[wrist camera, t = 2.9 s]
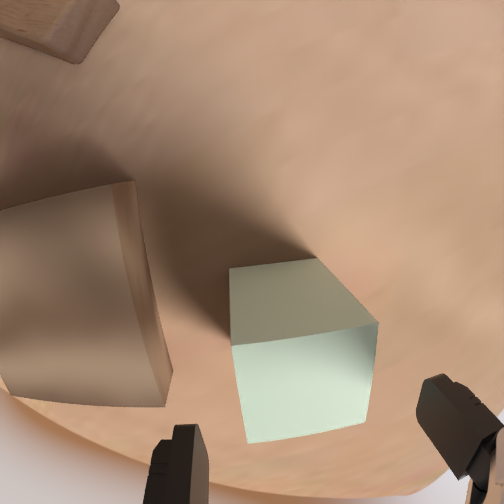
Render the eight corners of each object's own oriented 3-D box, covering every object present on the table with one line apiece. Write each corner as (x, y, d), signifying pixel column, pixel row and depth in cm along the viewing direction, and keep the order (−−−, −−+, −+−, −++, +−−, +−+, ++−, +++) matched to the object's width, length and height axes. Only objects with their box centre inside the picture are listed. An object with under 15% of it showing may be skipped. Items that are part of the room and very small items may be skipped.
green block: (229, 268, 17) (231, 346, 10) (317, 257, 18) (378, 322, 10) (239, 345, 19) (247, 443, 11) (319, 334, 19) (365, 421, 11)
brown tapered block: (-12, 214, 16) (-49, 225, 12) (136, 179, 16) (111, 184, 12) (34, 365, 19) (10, 395, 15) (174, 367, 19) (164, 407, 15)
